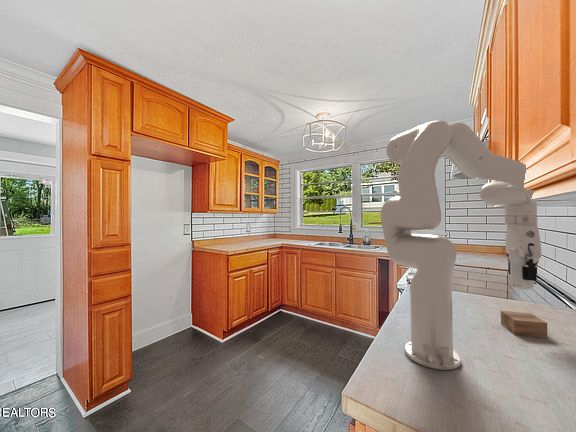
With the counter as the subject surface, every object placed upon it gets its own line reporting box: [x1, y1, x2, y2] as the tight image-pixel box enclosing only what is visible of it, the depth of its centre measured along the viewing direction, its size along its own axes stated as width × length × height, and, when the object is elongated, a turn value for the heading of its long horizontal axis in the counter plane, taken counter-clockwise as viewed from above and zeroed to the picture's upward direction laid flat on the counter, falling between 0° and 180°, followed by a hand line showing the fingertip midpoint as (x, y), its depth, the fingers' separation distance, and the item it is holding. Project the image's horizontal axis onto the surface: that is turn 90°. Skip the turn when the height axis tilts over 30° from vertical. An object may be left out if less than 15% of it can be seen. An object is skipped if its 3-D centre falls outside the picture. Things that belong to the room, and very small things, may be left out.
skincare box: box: [509, 249, 535, 291], centre depth 80 cm, size 6×4×12 cm
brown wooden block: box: [500, 310, 548, 339], centre depth 79 cm, size 8×8×4 cm
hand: (521, 276), depth 79 cm, fingers closed on skincare box, 7 cm apart
